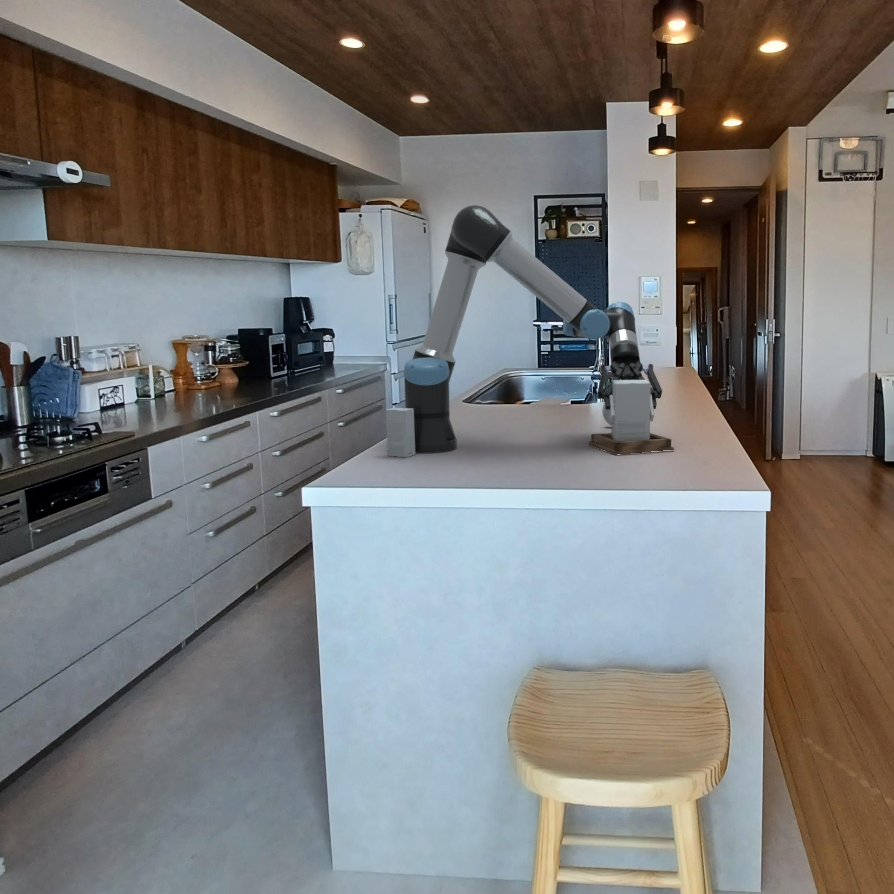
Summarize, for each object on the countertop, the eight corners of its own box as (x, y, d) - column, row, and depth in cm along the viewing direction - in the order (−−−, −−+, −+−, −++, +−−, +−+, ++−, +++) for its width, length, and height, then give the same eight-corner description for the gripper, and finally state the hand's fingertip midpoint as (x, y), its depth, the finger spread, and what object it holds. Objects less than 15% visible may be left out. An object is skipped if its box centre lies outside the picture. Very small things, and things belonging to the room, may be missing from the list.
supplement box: (645, 436, 226) (647, 379, 223) (650, 441, 217) (651, 382, 215) (610, 436, 227) (611, 379, 224) (613, 441, 218) (614, 382, 216)
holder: (615, 455, 213) (615, 443, 212) (588, 445, 228) (588, 434, 228) (673, 451, 217) (674, 439, 216) (643, 441, 232) (643, 430, 232)
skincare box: (415, 455, 219) (414, 408, 217) (406, 458, 215) (405, 410, 213) (396, 453, 222) (394, 407, 220) (386, 456, 218) (385, 409, 216)
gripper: (663, 359, 233) (673, 426, 220) (582, 360, 235) (587, 427, 222) (667, 341, 227) (678, 408, 214) (584, 342, 228) (590, 409, 215)
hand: (632, 418), depth 218 cm, fingers closed on supplement box, 9 cm apart
